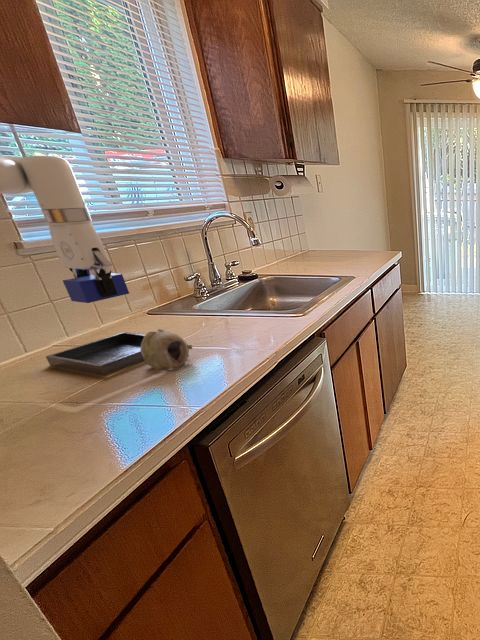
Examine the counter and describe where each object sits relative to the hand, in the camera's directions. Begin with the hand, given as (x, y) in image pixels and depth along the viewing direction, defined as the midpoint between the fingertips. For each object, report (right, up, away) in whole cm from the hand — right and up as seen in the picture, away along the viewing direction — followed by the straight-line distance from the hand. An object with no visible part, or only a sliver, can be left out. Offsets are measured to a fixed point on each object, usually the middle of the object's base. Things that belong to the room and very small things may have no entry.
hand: (100, 294), depth 98 cm
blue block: (0, -1, 0) cm, 1 cm away
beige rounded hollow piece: (+18, -18, 0) cm, 25 cm away
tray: (+1, -16, +4) cm, 16 cm away
